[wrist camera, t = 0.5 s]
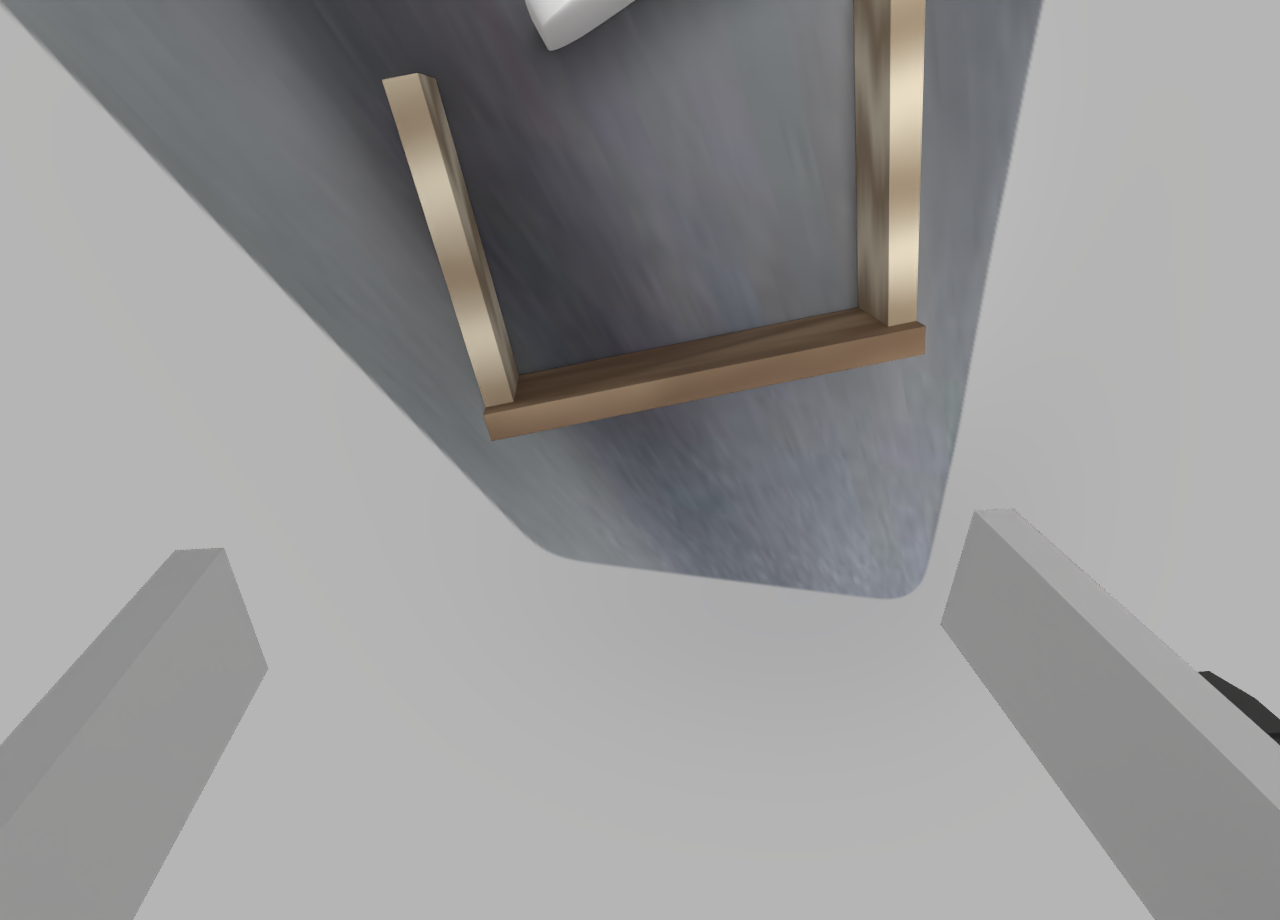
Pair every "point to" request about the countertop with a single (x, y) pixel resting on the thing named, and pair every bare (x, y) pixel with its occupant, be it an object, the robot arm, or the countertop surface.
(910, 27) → the wooden tray
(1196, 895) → the robot arm
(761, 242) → the countertop surface
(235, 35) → the countertop surface
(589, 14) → the cable organizer
